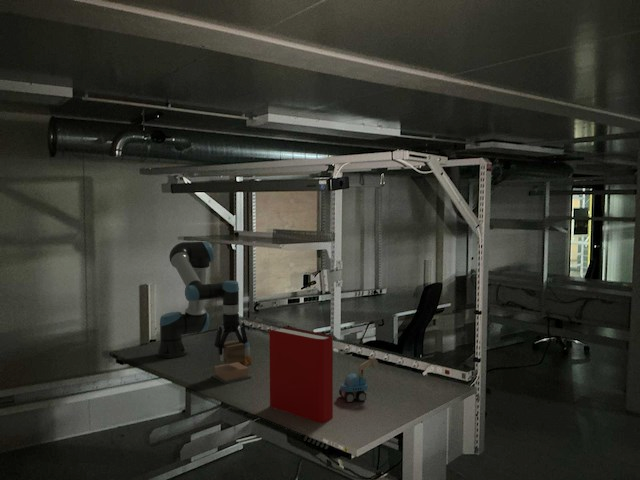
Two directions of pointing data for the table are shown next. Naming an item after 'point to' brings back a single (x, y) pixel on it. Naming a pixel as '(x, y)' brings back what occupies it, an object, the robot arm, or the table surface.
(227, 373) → the build base
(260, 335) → the table surface
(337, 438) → the table surface
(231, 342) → the walnut brick
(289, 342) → the book
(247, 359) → the toy rocket
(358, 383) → the toy excavator
